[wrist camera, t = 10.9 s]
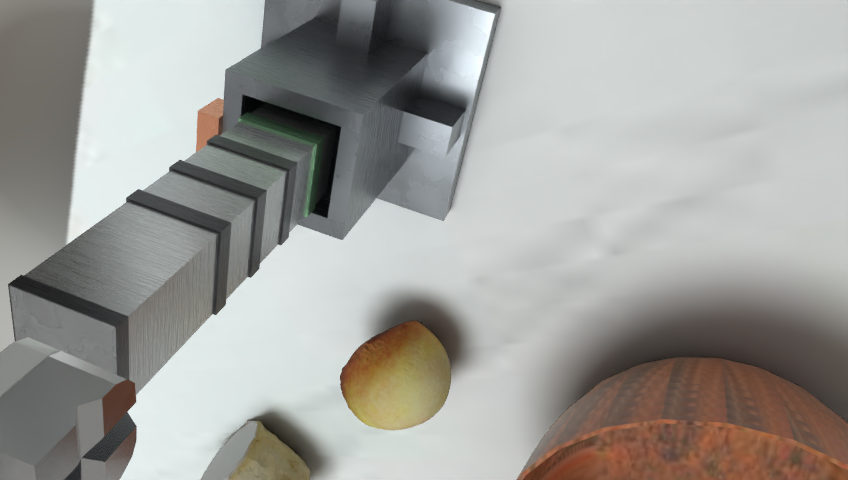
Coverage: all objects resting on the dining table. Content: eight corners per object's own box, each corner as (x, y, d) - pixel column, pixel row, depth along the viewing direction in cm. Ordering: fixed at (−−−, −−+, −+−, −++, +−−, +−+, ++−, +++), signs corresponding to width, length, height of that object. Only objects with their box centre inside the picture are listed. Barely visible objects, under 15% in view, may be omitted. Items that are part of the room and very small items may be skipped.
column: (264, 100, 41) (6, 282, 26) (338, 124, 40) (118, 326, 25) (257, 170, 43) (17, 375, 28) (328, 194, 42) (120, 417, 28)
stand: (281, -57, 48) (163, -13, 37) (500, 7, 46) (438, 73, 35) (262, 147, 55) (159, 229, 45) (449, 210, 53) (386, 312, 43)
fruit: (368, 372, 63) (327, 442, 56) (370, 287, 58) (326, 351, 52) (460, 396, 61) (429, 471, 54) (469, 310, 57) (437, 379, 50)
